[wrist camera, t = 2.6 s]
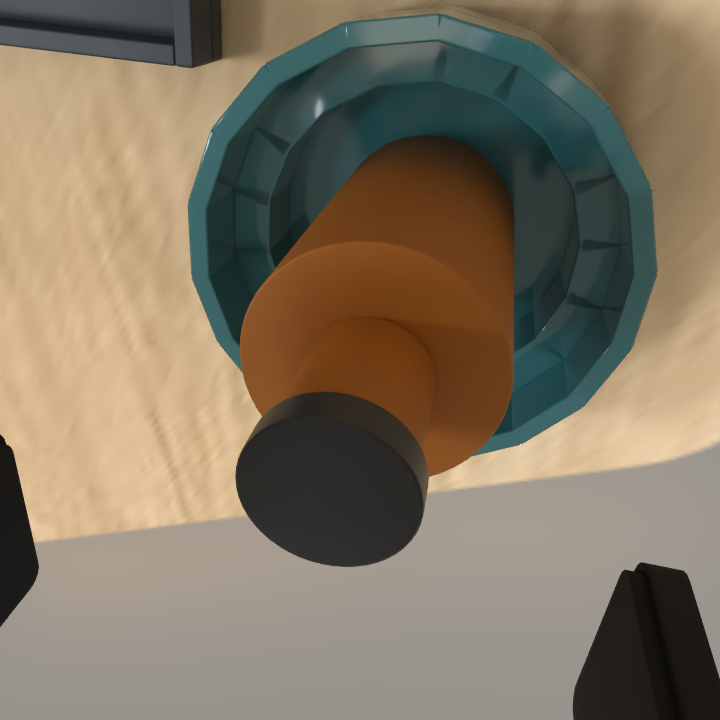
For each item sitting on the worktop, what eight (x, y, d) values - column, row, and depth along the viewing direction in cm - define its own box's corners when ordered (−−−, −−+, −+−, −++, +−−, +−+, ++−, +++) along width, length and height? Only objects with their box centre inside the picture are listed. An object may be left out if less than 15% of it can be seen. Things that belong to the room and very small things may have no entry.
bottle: (531, 147, 21) (552, 376, 9) (496, 317, 24) (477, 653, 12) (345, 124, 22) (140, 305, 10) (334, 290, 25) (167, 583, 13)
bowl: (686, 28, 19) (736, 44, 15) (571, 410, 26) (582, 496, 22) (244, -17, 21) (175, -15, 16) (247, 353, 28) (198, 422, 23)
